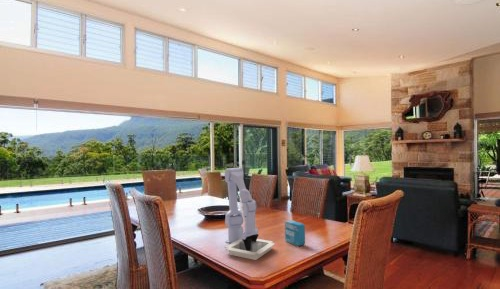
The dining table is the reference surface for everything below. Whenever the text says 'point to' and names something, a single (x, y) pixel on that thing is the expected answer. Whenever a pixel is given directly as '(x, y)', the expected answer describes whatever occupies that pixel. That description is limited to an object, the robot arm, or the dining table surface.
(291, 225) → the data package
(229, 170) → the robot arm
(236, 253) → the cream square frame
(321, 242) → the dining table surface
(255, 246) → the box
